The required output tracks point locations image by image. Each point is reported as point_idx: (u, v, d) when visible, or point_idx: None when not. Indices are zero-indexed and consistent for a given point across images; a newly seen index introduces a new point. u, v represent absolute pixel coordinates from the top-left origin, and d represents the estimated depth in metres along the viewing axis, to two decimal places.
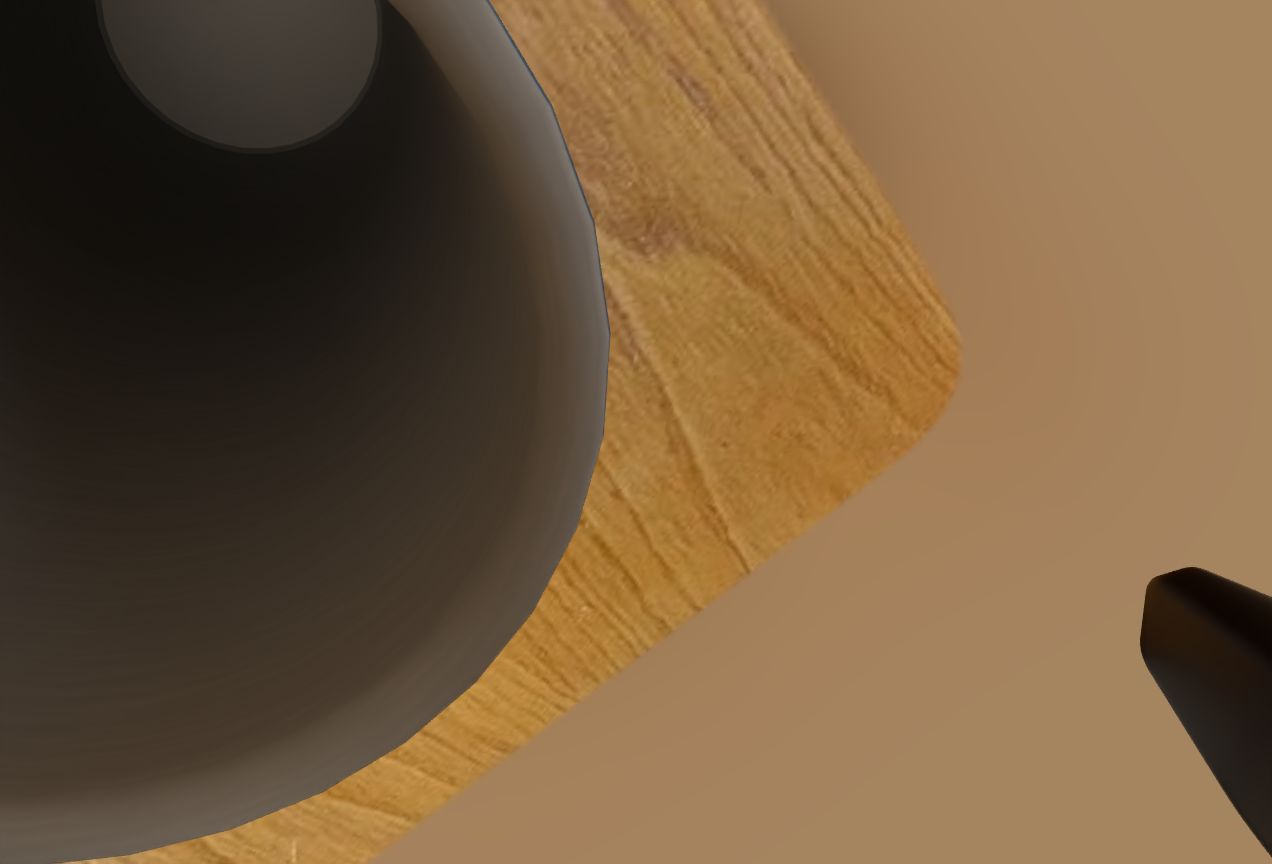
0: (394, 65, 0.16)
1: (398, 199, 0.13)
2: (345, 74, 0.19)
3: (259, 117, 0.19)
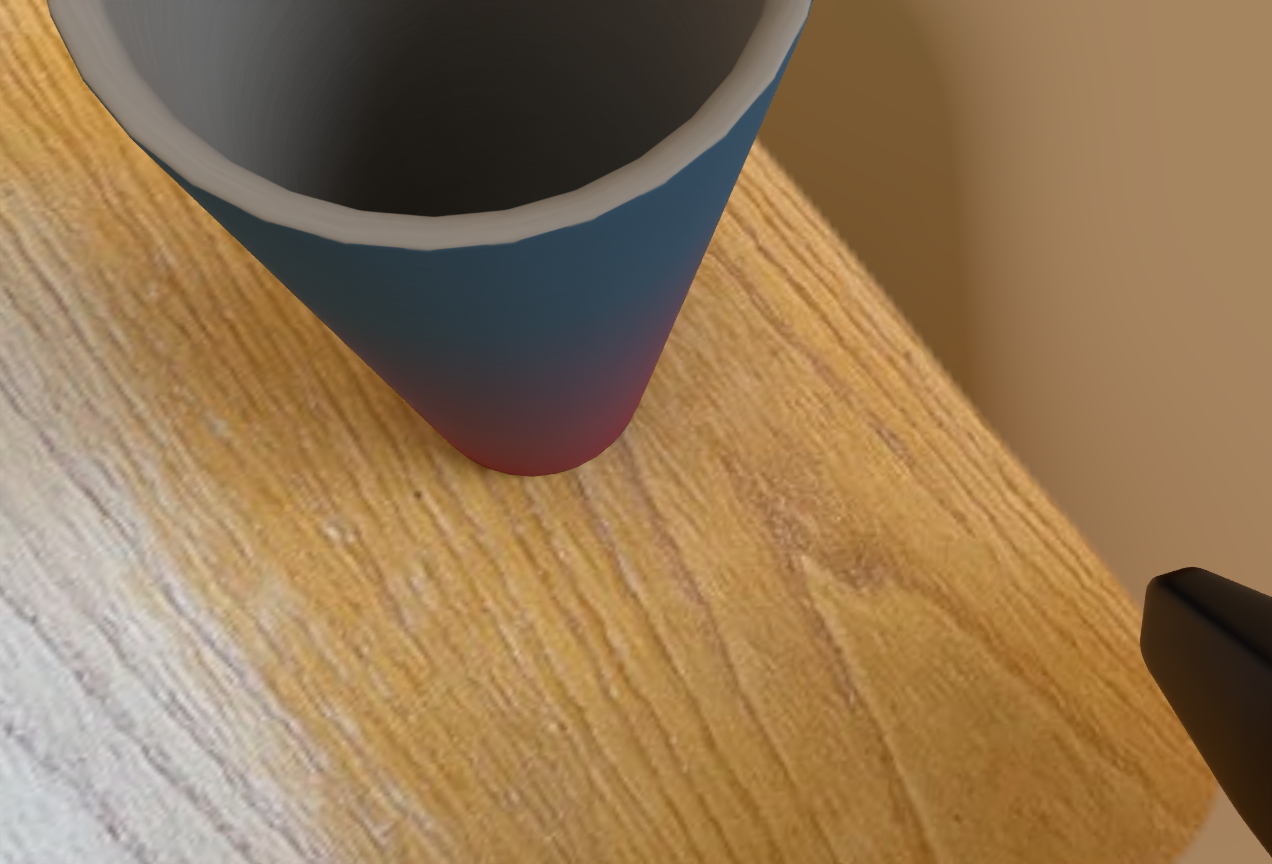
0: None
1: None
2: None
3: None
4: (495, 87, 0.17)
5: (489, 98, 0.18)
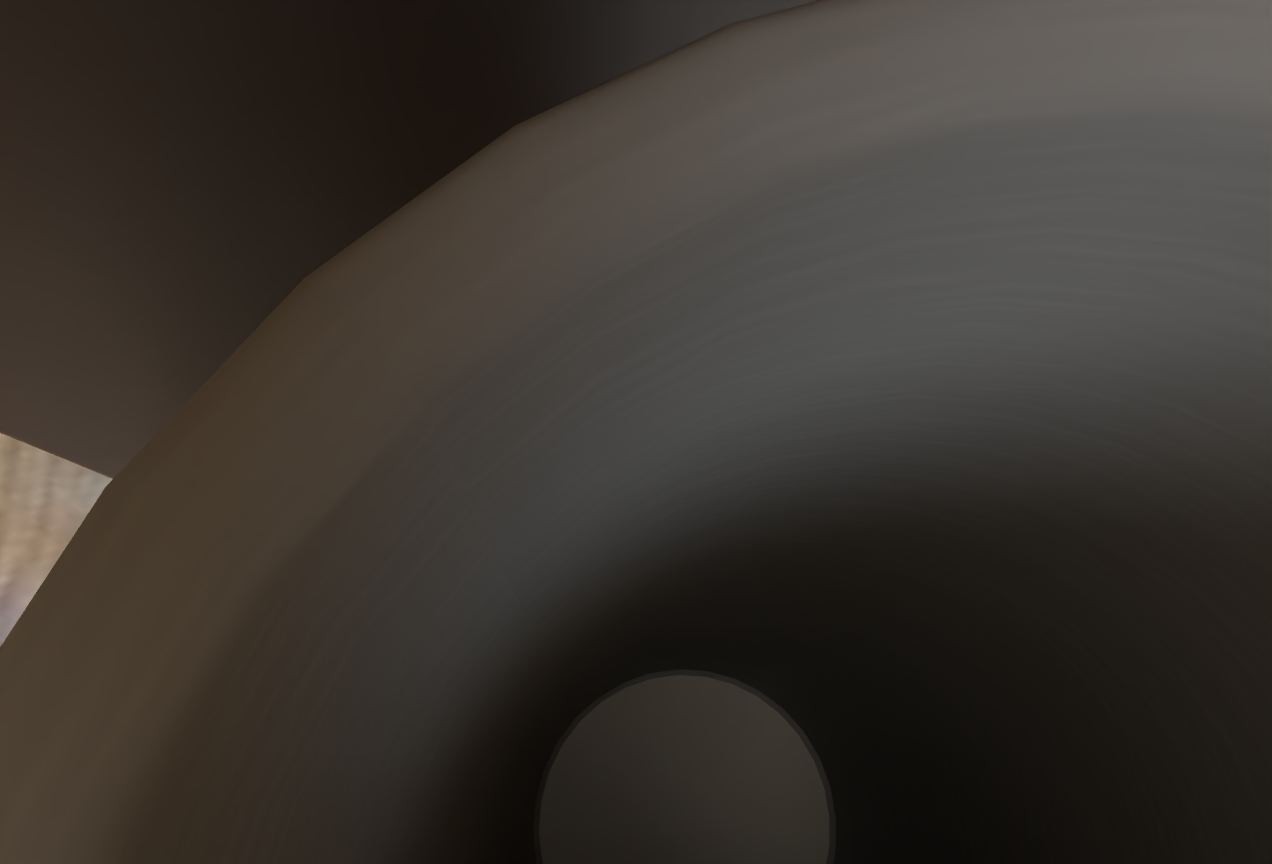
0: None
1: None
2: None
3: None
4: (726, 591, 0.10)
5: (711, 598, 0.11)
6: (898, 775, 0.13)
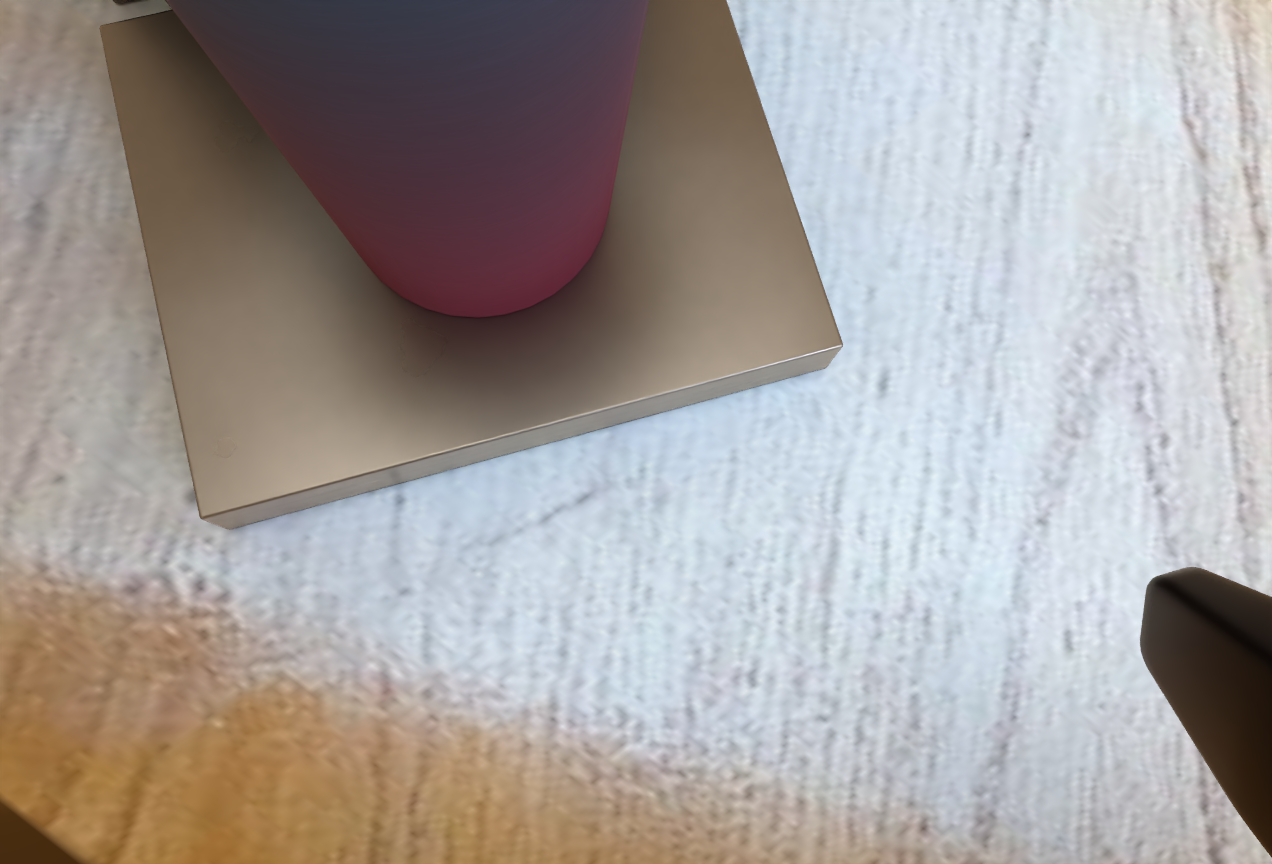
0: None
1: None
2: None
3: None
4: None
5: None
6: None
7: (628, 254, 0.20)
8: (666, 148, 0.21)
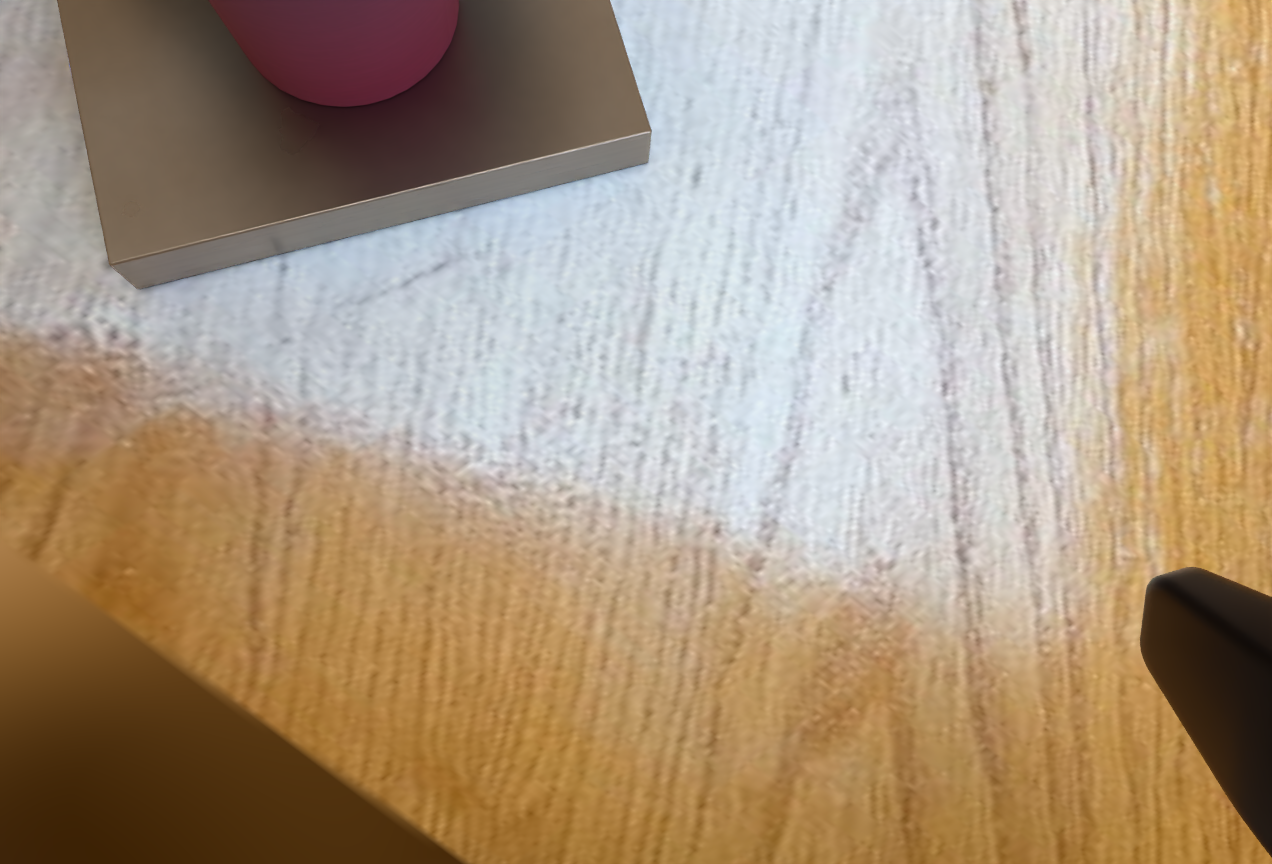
0: None
1: None
2: None
3: None
4: None
5: None
6: None
7: (472, 58, 0.24)
8: None
